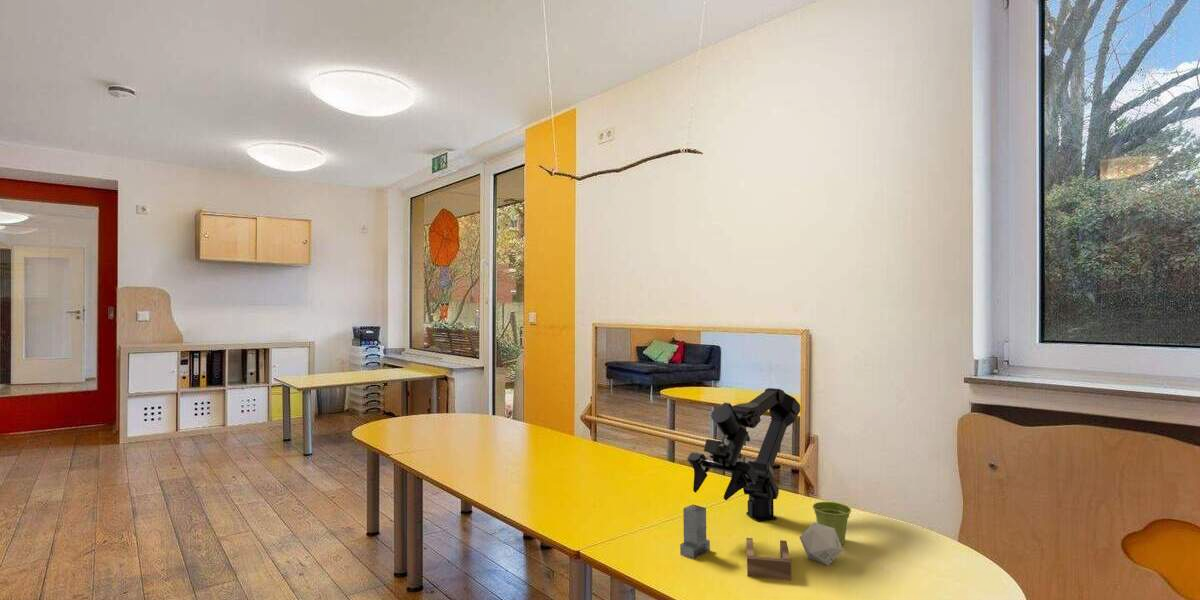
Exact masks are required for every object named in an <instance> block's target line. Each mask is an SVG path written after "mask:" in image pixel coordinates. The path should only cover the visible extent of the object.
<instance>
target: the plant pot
mask: <svg viewBox="0 0 1200 600" xmlns="http://www.w3.org/2000/svg"><path fill="white" fill-rule="evenodd" d="M812 508H813V510H814V514H815V517H816V518H815V519H816V523H818V524H821V525H825V526H828V527H832V528H834V529H835V531H836V534H837V536H838V538H839V541H840V543H841V545H843V544H845V540H846V534H847V526H848V521H849V520H848V519H849V518H850V514H851V512H852V509H851V508H850V507H849V506H848V505H846V504H843V503H840V502H834V501H818V502H814V503H813V504H812Z"/></svg>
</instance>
